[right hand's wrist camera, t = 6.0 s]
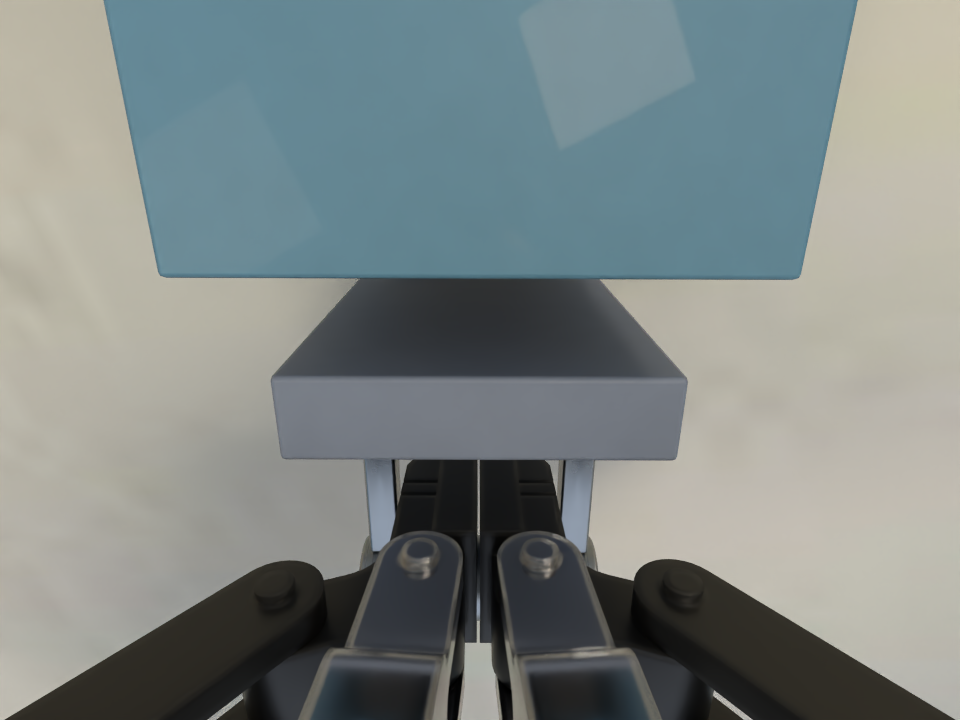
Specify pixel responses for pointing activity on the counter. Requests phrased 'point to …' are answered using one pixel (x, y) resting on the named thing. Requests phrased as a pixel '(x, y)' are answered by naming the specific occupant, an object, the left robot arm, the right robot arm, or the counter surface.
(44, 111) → the counter surface
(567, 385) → the drawer
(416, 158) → the cabinet
